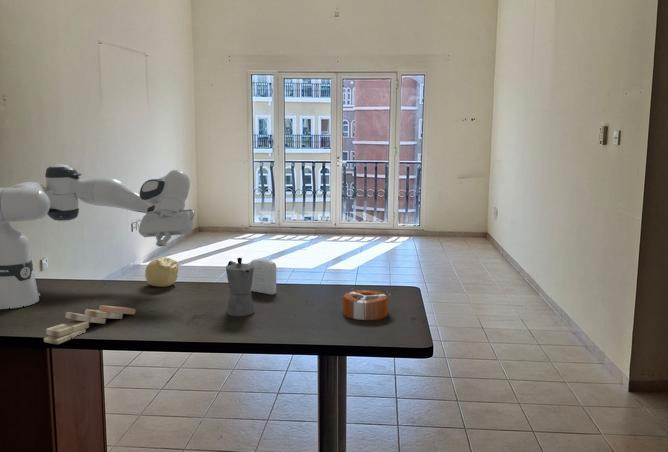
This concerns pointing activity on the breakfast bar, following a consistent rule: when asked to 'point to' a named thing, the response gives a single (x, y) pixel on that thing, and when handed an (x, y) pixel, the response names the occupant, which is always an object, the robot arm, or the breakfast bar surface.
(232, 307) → the coffeepot
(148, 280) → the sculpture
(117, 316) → the domino
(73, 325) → the domino
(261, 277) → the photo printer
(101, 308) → the domino
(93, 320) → the domino
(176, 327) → the breakfast bar surface
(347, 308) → the coil
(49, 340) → the domino
